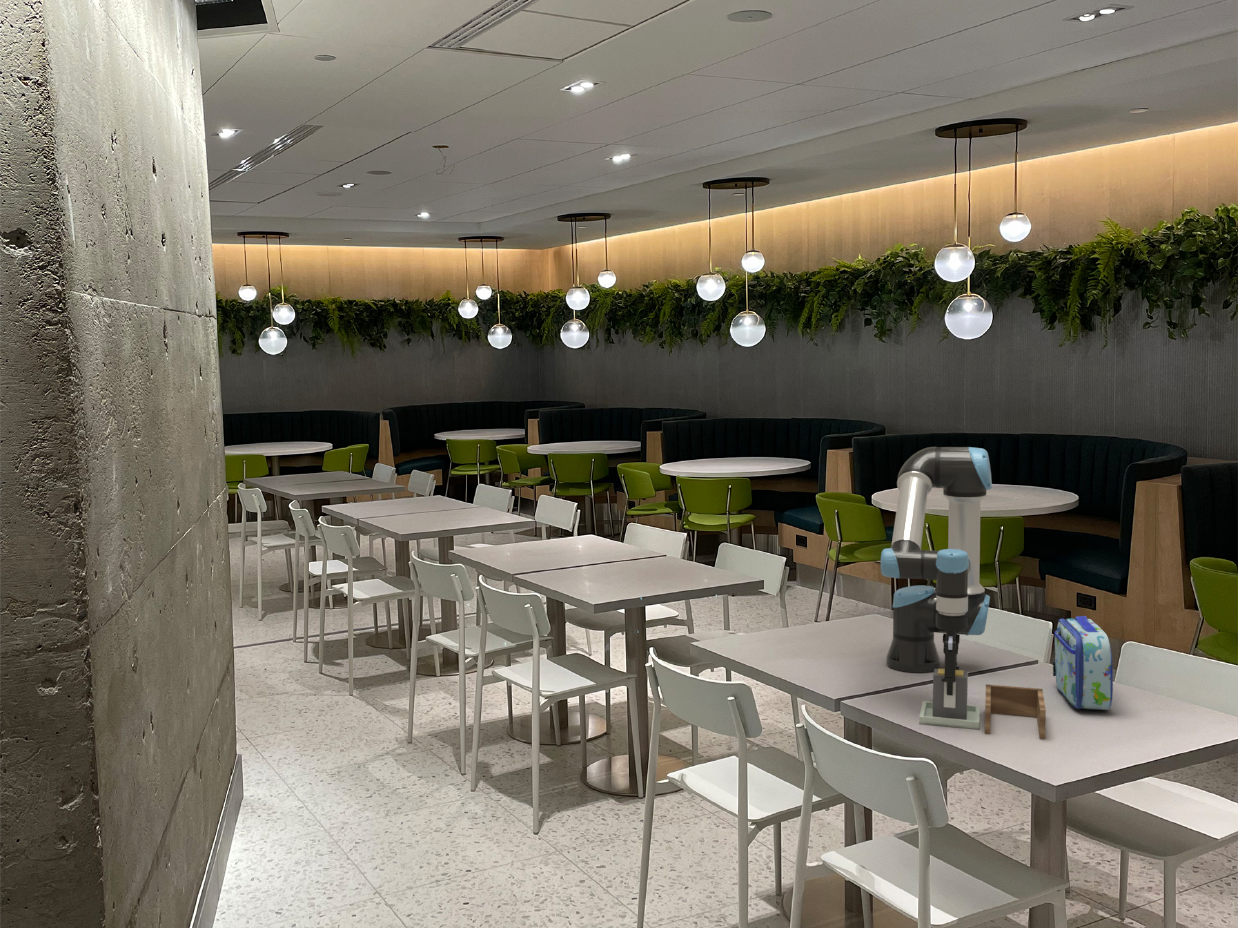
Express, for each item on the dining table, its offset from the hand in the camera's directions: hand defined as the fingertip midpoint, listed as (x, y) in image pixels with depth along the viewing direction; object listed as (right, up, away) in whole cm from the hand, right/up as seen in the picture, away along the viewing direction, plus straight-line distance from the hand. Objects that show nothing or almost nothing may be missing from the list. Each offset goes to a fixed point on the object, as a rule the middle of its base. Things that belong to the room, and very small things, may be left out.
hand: (950, 701), depth 265 cm
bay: (+14, -5, -5) cm, 16 cm away
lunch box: (+39, -3, +13) cm, 41 cm away
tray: (0, -4, 0) cm, 4 cm away
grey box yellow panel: (0, -4, 0) cm, 4 cm away
